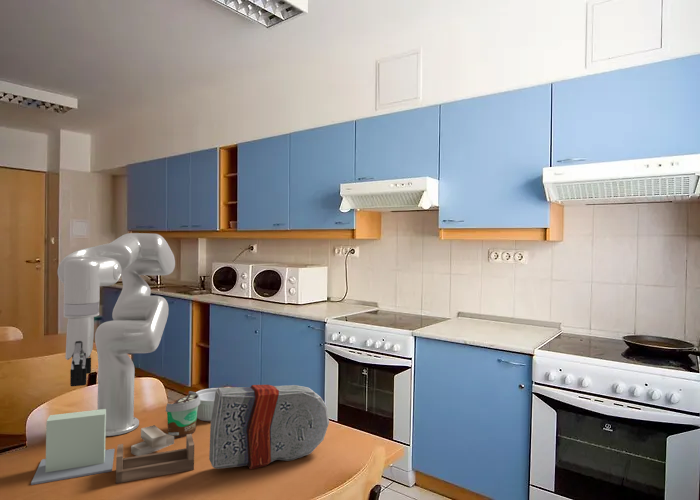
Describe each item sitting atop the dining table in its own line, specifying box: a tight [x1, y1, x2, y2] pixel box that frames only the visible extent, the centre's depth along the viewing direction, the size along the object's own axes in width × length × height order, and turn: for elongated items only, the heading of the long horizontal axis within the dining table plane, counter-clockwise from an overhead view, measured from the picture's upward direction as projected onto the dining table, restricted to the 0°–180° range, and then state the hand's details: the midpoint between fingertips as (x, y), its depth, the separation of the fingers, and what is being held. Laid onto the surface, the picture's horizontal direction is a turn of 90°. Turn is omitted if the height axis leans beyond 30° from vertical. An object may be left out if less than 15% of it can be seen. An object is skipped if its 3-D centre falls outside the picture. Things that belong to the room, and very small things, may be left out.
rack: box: [115, 434, 195, 484], centre depth 108 cm, size 7×17×6 cm, turn 115°
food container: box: [165, 390, 200, 439], centre depth 130 cm, size 12×6×10 cm, turn 168°
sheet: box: [45, 409, 107, 472], centre depth 109 cm, size 4×12×12 cm, turn 115°
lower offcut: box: [130, 432, 175, 456], centre depth 120 cm, size 4×10×2 cm, turn 147°
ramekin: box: [195, 387, 219, 422], centre depth 144 cm, size 13×13×7 cm
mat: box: [30, 448, 116, 486], centre depth 109 cm, size 12×16×1 cm
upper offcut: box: [140, 424, 166, 448], centre depth 120 cm, size 4×8×2 cm, turn 43°
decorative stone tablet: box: [208, 384, 330, 470], centre depth 114 cm, size 19×6×30 cm
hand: (81, 379), depth 110 cm, fingers open, 9 cm apart
